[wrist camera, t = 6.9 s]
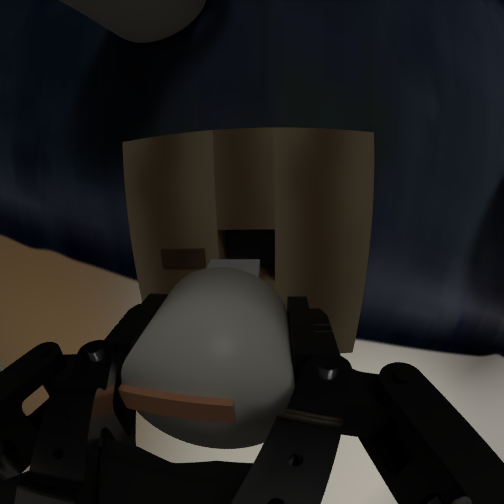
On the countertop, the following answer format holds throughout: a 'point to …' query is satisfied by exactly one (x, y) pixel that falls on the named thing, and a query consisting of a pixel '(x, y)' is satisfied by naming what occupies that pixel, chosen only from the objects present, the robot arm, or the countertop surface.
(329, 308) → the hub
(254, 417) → the knob
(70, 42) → the countertop surface
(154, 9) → the mug
